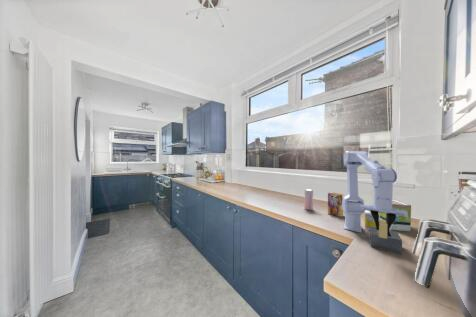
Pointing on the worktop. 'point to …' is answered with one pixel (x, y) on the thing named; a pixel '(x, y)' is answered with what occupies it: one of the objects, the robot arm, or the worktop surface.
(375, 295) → the worktop surface
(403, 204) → the tea box
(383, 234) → the yellow flat block
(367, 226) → the supplement bottle
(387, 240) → the coin box
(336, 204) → the candy box
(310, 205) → the beverage can
